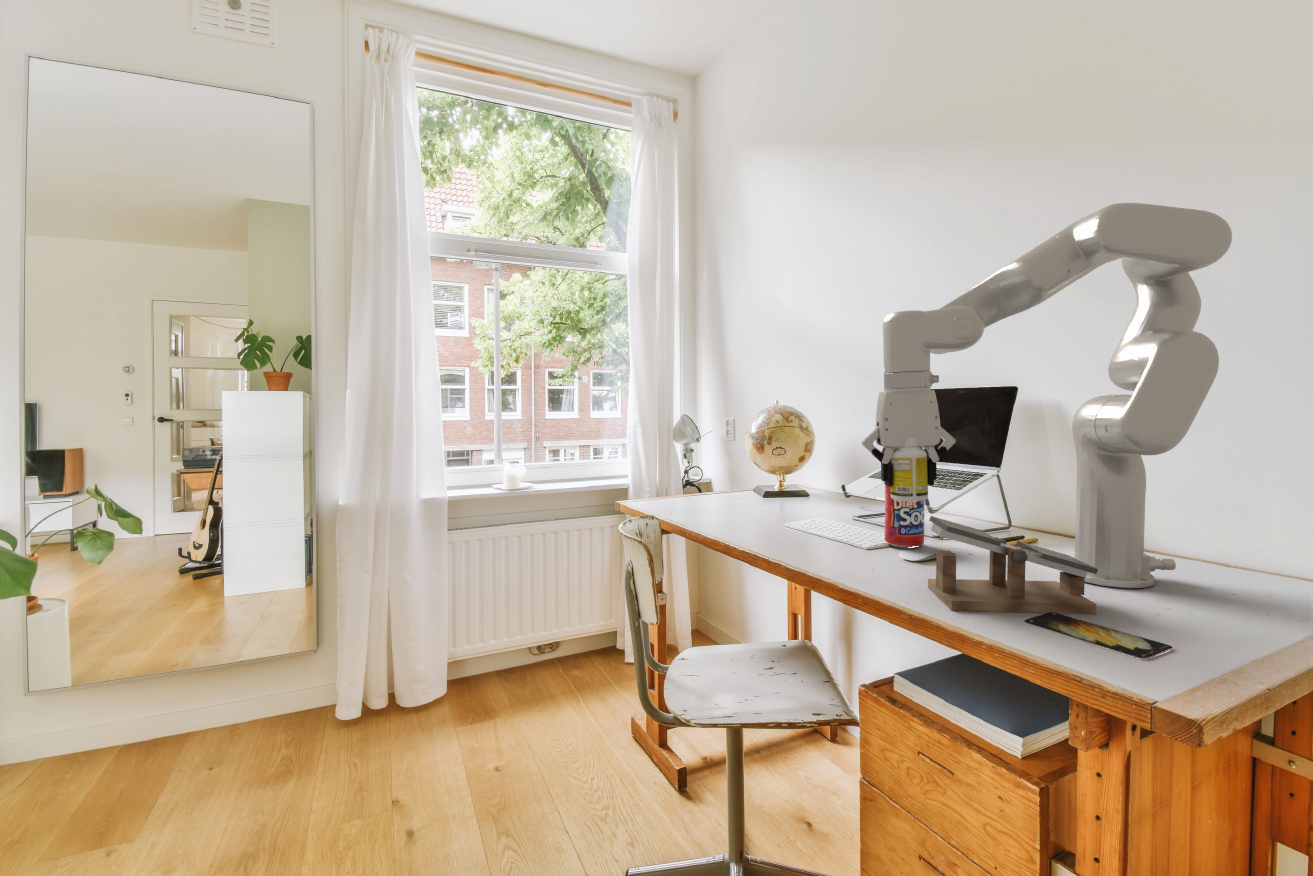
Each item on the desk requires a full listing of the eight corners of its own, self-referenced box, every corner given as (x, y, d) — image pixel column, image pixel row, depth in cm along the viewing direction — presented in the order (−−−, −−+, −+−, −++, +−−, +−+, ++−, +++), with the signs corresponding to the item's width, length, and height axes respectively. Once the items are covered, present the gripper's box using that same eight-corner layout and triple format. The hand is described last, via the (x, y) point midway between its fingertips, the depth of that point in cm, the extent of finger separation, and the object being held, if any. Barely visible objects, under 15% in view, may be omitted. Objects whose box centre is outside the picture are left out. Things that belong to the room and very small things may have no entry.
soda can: (896, 539, 136) (896, 473, 135) (930, 545, 129) (931, 476, 128) (877, 545, 131) (877, 476, 130) (912, 552, 124) (913, 479, 124)
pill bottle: (921, 495, 110) (920, 435, 109) (933, 501, 104) (932, 437, 103) (886, 496, 111) (884, 436, 110) (896, 502, 104) (894, 438, 104)
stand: (1059, 590, 99) (1060, 536, 98) (1099, 614, 88) (1101, 553, 87) (927, 587, 101) (928, 535, 101) (951, 610, 91) (952, 551, 90)
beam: (1064, 566, 97) (1068, 555, 97) (1093, 582, 89) (1098, 569, 89) (926, 527, 99) (930, 515, 99) (943, 538, 91) (947, 526, 91)
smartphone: (1051, 611, 89) (1175, 646, 76) (1051, 615, 89) (1175, 651, 76) (1021, 620, 86) (1145, 658, 72) (1021, 625, 86) (1145, 664, 72)
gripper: (951, 381, 109) (952, 480, 110) (851, 385, 111) (854, 483, 112) (967, 380, 101) (968, 486, 102) (860, 385, 103) (862, 489, 104)
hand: (908, 484), depth 107 cm, fingers closed on pill bottle, 6 cm apart
